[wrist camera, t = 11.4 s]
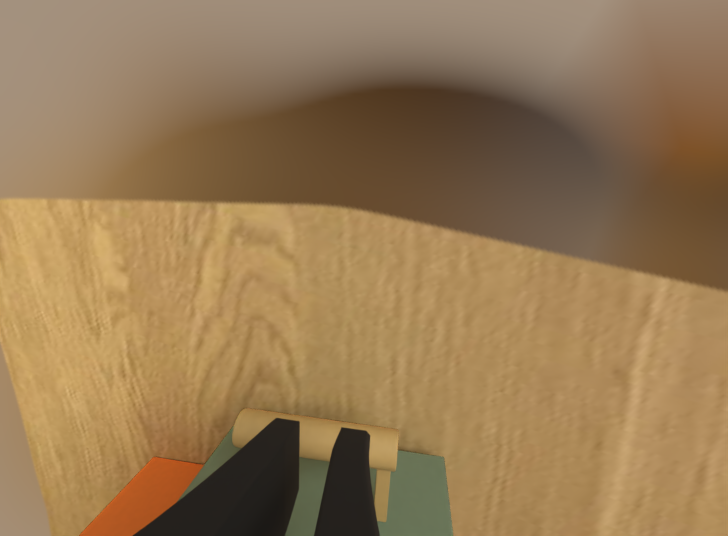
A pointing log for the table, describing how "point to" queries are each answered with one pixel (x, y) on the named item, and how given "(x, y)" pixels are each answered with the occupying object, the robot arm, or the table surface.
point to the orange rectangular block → (144, 498)
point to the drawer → (387, 471)
